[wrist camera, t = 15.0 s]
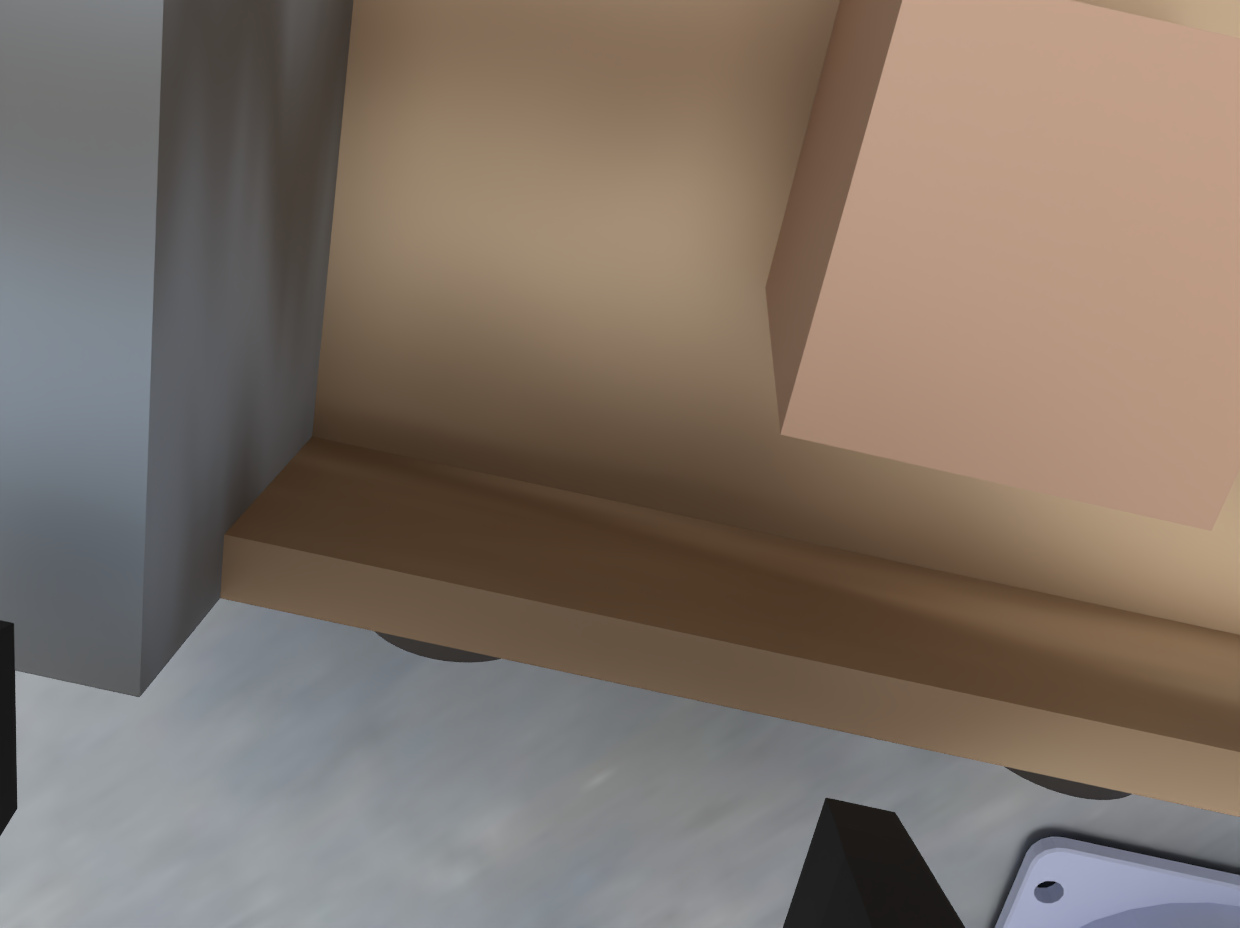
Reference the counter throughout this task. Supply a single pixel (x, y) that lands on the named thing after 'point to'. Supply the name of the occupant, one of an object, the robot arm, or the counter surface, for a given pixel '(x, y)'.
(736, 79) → the flatbed
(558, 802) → the counter surface
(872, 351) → the tan rectangular block
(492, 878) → the counter surface
